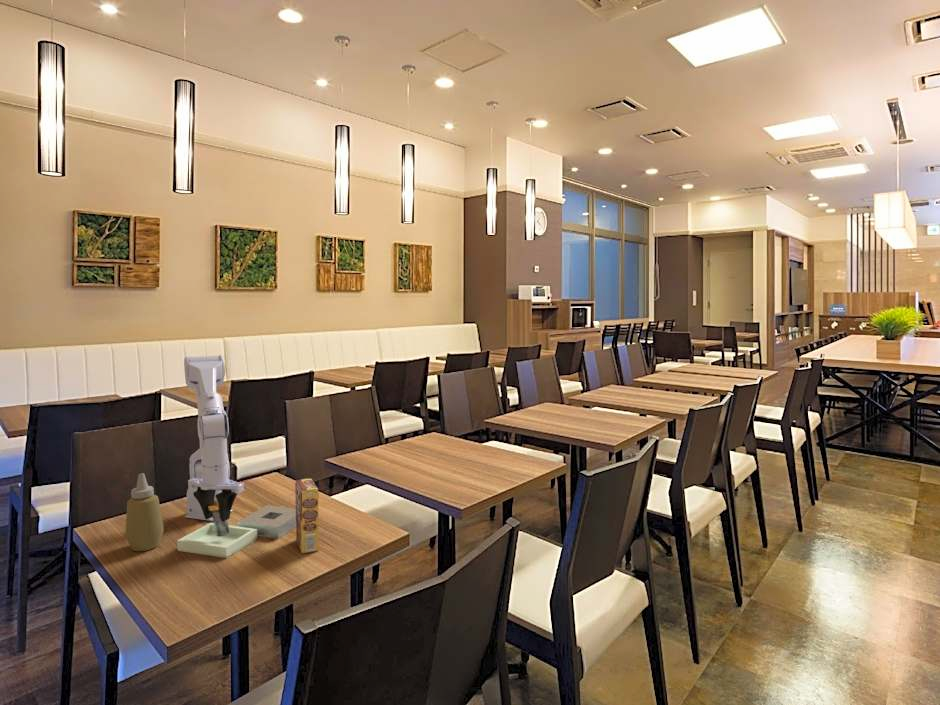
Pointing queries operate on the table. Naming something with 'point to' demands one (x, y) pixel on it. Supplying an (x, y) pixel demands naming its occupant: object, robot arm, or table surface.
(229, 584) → the table surface
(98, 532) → the table surface
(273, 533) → the block
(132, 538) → the squeeze bottle
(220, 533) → the copper-topped gray cylinder
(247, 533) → the tray
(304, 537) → the candy box
